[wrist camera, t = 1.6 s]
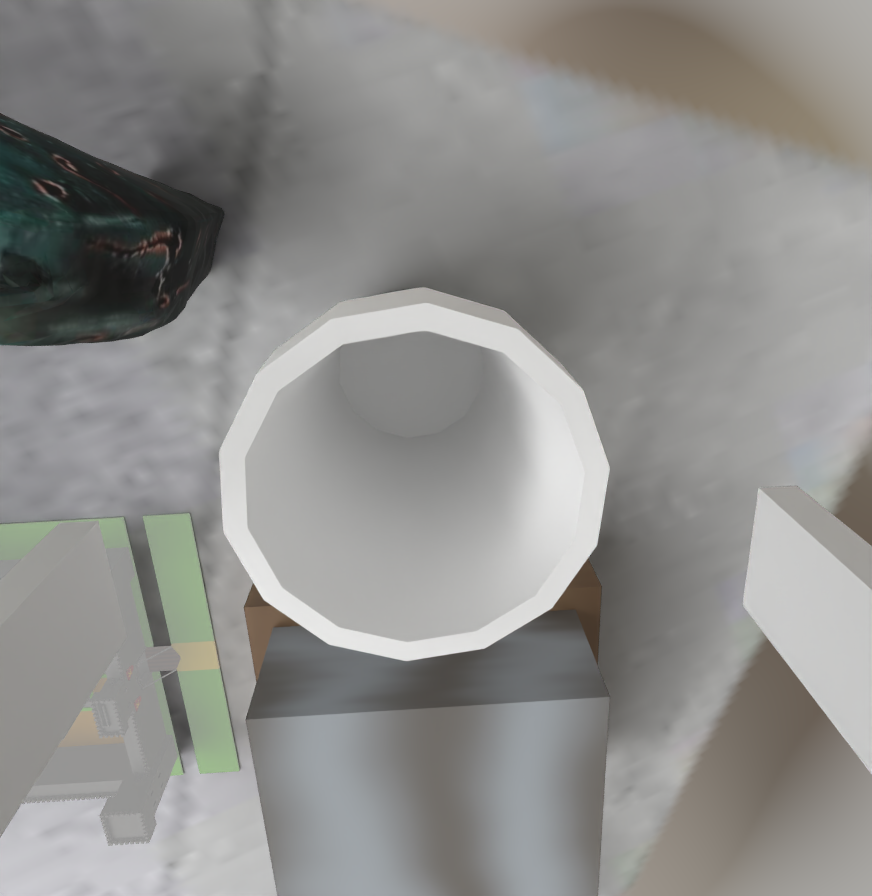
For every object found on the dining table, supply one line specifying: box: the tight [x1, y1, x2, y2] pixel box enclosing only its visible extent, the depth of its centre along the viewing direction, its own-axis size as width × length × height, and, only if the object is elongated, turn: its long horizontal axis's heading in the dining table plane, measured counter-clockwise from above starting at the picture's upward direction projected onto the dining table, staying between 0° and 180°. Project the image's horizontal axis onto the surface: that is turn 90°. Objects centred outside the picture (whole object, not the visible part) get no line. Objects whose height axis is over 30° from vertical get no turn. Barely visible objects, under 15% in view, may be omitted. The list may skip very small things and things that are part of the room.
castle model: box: [0, 513, 240, 846], centre depth 31 cm, size 15×15×7 cm
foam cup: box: [219, 287, 610, 661], centre depth 23 cm, size 10×9×13 cm
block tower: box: [244, 559, 610, 896], centre depth 30 cm, size 14×14×10 cm
